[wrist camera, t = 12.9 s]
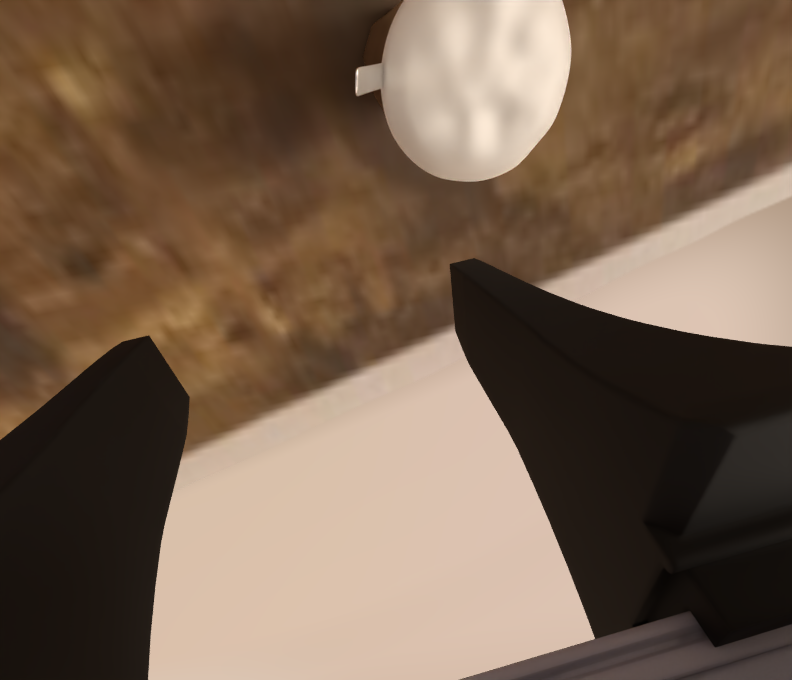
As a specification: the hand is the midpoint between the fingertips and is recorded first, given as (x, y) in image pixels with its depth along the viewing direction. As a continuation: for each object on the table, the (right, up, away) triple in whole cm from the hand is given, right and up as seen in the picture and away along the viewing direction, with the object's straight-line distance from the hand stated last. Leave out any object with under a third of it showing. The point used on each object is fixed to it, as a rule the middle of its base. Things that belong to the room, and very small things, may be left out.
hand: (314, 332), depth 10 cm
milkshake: (+2, +11, +6) cm, 12 cm away
